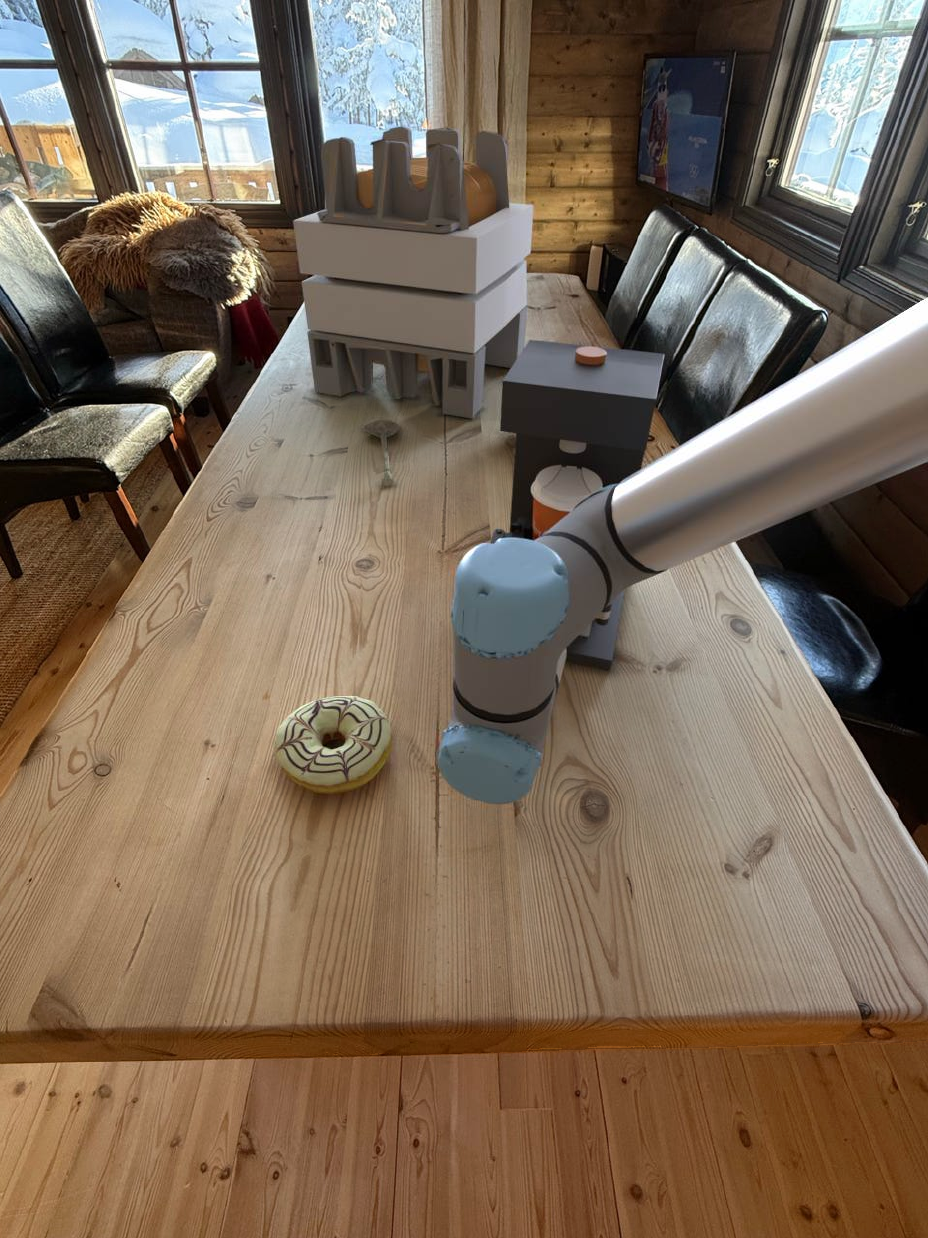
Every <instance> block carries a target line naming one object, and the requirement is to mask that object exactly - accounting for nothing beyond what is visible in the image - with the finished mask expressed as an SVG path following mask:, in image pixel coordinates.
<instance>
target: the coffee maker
mask: <svg viewBox="0 0 928 1238" xmlns="http://www.w3.org/2000/svg"><path fill="white" fill-rule="evenodd" d="M664 359H665V353H657V352H649V351H639V350H630V349H621V348H610V347H604V346H603V347H601V346H594V345H593V346H592V345H583V344H574V343H573V344H572V343H563V342H554V341H545V340H537V339H536V340H535V339H529V340H528V341H527V343H526V344H525V345H524V349H523V351H522V352H521V354H520V355H519V357H518V358H517V360H516V361H515V363H514V364H513V366H512V367H511V368H509V371H508V372H507V373H506V375H505V376H504V377H503V379H502V381H501V401H500V402H501V405H500V424H499V432H502V433H509V434H512V433H516V437H515V442H514V443H515V444H514V459H513V461H514V462H513V474H512V489H511V490H512V491H511V505H510V507H511V508H510V520H509V532H511V528H512V524H513V523H516V522H517V520H518V518H520V517H525V518H528V515H529V513H530V510H531V508H532V505H533V495H532V493H531V486H532V484H533V482H534V481H535V480H536V477H537V475H538V474H539V472H540V471H542V470H543V469H545V468H548V467H551V466H556V465H561V468H562V467H566V466H574V467H577V468H578V469H581V470H582V467H583V468H586V469H589V470H591V471H593V472H594V473H596V474H597V475H598V476H599V477H600V479H601V481H602V487H603V488H604V487H606V486H609V485H612V484H619V483H620V482H621V481H622V480H624V479H625V478H627V477H629V476H630V475H632V474H634V473H635V472H637V471H639V470H640V469H642V468H643V467H642V466H643V462H644V457H645V452H646V451H647V446H648V442H649V437H650V432H651V428H652V422H653V418H654V414H655V413H654V412H655V408H656V403H657V398H658V393H659V392H658V391H659V387H660V381H661V377H662V376H661V375H662V369H663V365H664ZM625 590H626V589H625ZM625 590H624V591H622V592H621V593H620V594H619V595H618V596H617V597H616V598H615V599H614V600H613V601H612V607H611V612H610V617H609V621H608V624H607V625H604V626H602V625H599V624H597V623H596V620H595V619H594V620H593V621H592V622H591V623H590V624H589V625H588V626H587V627H586V628H585V629H584V630H583V631H582V632H581V633H580V634H579V635H578V636H577V637H576V638H575V639H574V640H573V641H572V642H571V643H570V645H569V649H568V653H567V655H566V661H565V663H566V662H567V663H572V664H578V665H580V666H587V667H590V668H595V669H599V670H600V669H601V670H605V671H611V668H612V666H613V665H612V664H613V660H614V653H615V649H616V642H617V637H618V631H619V625H620V620H621V613H622V610H623V609H622V608H623V603H624V597H625Z"/></svg>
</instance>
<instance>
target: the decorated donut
mask: <svg viewBox="0 0 928 1238" xmlns="http://www.w3.org/2000/svg"><path fill="white" fill-rule="evenodd" d="M333 740H334V741H335V740H341V741H344V744H343V745H342V746H339V747H337V748H333V749H331V748H329V747H326V746H324V744H326V743H328V742H330V741H333ZM392 747H393V734H392V729H391V725H390V720H389V718H388V717H387V715H386V714H385V712H383V710H382V709H381V708H380V707H378V706H377V704H376V703H375V701H372V700H370V699H366V698H361V697H359V696H357V695H343V696H341V695H340V696H335V695H334V696H329V697H323V698H318V699H315V700H312V701H310V702H308V703H306V704H303V705H301V706H300V707H298V708H297V709H296V710H294V711H293V712H292V713H290V714H289V715H288V716H286V718H285V719H284V720H283V721H282V722H281V724H280V726H279V727H278V728H277V730H276V732H275V739H274V744H273V757H274V758H275V760H276V761H277V763H278V765H279V766H280V768H281V770H282V771H284V773H285V775H286V776H287V777H288V778H289V779H290V780H292V781H293V782H294V783H295V784H296V785H298V786H299V787H301V788H303V789H304V790H306V791H309V792H313V793H316V794H319V795H320V794H323V795H337V794H343V793H347V792H351V791H354V790H356V789H359V788H361V787H363V786H365V785H367V784H368V783H370V781H371V780H372V779H374V777H375V776H377V774H379V772H380V771H381V769H382V768H383V767H384V766H385V764H386V763H387V760H388V759H389V757H390V755H391V753H392Z"/></svg>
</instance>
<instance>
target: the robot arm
mask: <svg viewBox="0 0 928 1238" xmlns="http://www.w3.org/2000/svg"><path fill="white" fill-rule="evenodd" d="M925 463H928V297H927V298H925V299H923V300H922V301H920V302H918V303H917V304H915V305H913V306H912V307H909V308H908V309H907V310H905V311H903V312H901V313H899V314H898V315H896V316H895V317H893V318H891V319H890V320H888V321H886V322H884V323H883V324H882V325H880V326H878V327H877V328H875V329H873V330H871V331H869V332H868V333H866V334H864V335H863V336H861V337H860V338H858V339H857V340H854V341H853V342H851V343H849V344H848V345H846V346H845V347H843V348H841V349H840V350H838V351H837V352H835V353H833V354H831V355H830V356H828V357H826V358H824V359H823V360H822V361H820V362H818V363H816V364H814V365H813V366H811V367H810V368H808V369H806V370H804V371H803V372H801V373H800V374H797V375H796V376H795V377H792V378H791V379H789V380H787V381H786V382H784V383H783V384H781V385H779V386H778V387H776V388H775V389H773V390H771V391H769V392H768V393H766V394H764V395H763V396H760V397H759V398H758V399H756V400H754V401H753V402H751V403H749V404H747V405H746V406H744V407H742V408H741V409H739V410H738V411H736V412H734V413H733V414H730V415H728V416H727V417H726V418H724V419H722V420H721V421H718V422H717V423H715V424H714V425H712V426H711V427H709V428H707V429H706V430H704V431H702V432H701V433H699V434H697V435H696V436H694V437H693V438H692V437H691V439H689V440H687V441H686V442H684V443H682V444H681V445H679V446H678V447H675V448H674V449H673V450H670V451H669V452H667V453H666V454H664V455H662V456H661V457H659V458H657V459H655V460H654V461H652V462H650V463H648V464H647V465H646V466H644V467H641V469H640V470H639V471H637V472H635V473H634V474H632V475H630V476H629V477H627V478H625V479H624V480H622V481H621V482H620V483H619V484H612V485H609V486H606V487H604V488H602V489H601V490H598V491H596V492H594V493H593V494H591V495H589V496H588V497H587V498H585V499H584V500H582V501H581V502H580V503H578V504H577V505H576V506H575V507H574V509H573V510H572V511H571V512H570V513H569V514H568V515H566V516H565V517H564V518H563V519H561V520H560V521H559V522H558V523H557V524H555V525H554V526H553V527H552V528H550V529H549V530H548V531H547V532H546V533H544V534H543V535H542V536H540V537H538V538H537V539H535V540H534V541H532V528H533V505H532V508H531V510H530V513H529V515H528V518H525V517H520V518H518V520H517V522H516V523H513V524H512V528H511V532H510V531H509V532H505V530H504V529H502V528H496V529H494V530H493V531H492V536H491V539H490V542H482V543H479V544H478V545H476V546H474V547H473V548H471V549H470V550H469V551H468V552H467V553H465V555H464V556H463V558H461V560H460V562H459V563H458V566H457V568H456V572H455V578H454V579H455V580H454V594H453V595H454V596H453V600H452V602H451V603H452V605H451V611H450V619H451V625H452V639H453V640H452V642H453V643H452V647H453V648H452V649H453V650H452V651H453V652H452V653H453V657H452V658H453V662H452V663H453V679H452V710H451V711H452V712H451V717H450V721H449V723H448V725H447V727H446V728H445V729H444V730H443V732H442V741H441V744H440V748H439V751H438V755H437V767H438V769H439V772H440V774H441V776H442V778H443V779H444V781H445V782H446V783H447V784H448V785H449V786H450V787H451V788H452V789H453V790H455V791H456V792H458V793H459V794H460V795H462V796H463V797H466V798H468V799H471V800H473V801H476V802H477V801H478V802H482V803H486V804H487V805H508V804H514V803H516V802H518V801H521V800H522V799H523V798H525V797H526V796H527V795H528V794H529V792H531V790H532V788H533V786H534V782H535V779H536V776H537V773H538V770H539V768H540V767H541V766H542V764H543V763H542V762H543V761H542V760H543V759H542V758H543V752H544V748H545V744H546V739H547V735H548V732H549V727H550V724H551V719H552V715H553V710H554V706H555V701H556V700H555V699H556V697H557V694H558V690H559V687H560V684H561V679H562V676H563V672H564V668H565V665H566V655H567V653H568V649H569V645H570V643H571V642H572V641H573V640H574V639H575V638H576V637H577V636H578V635H579V634H580V633H581V632H582V631H583V630H584V629H585V628H586V627H587V626H588V625H589V624H590V623H591V622H592V621H593V620H594V619H595V620H596V623H597V624H599V625H602V626H604V625H607V624H608V621H609V617H610V612H611V607H612V601H613V600H614V599H615V598H616V597H617V596H618V595H619V594H620V593H621V592H622V591H624V590H626V589H628V588H629V587H631V586H634V585H636V584H638V583H641V582H643V581H645V580H648V579H649V578H652V577H655V576H658V575H659V574H661V573H664V572H666V571H668V570H670V569H672V568H674V567H677V566H680V565H683V564H685V563H687V562H689V561H692V560H694V559H697V558H699V557H701V556H704V555H706V554H708V553H711V552H713V551H716V550H718V549H721V548H723V547H726V546H728V545H730V544H733V543H735V542H738V541H740V540H742V539H744V538H747V537H750V536H752V535H755V534H757V533H759V532H762V531H764V530H767V529H769V528H771V527H774V526H777V525H778V524H782V523H783V522H786V521H789V520H791V519H793V518H795V517H797V516H801V515H803V514H805V513H807V512H810V511H812V510H815V509H817V508H819V507H822V506H824V505H827V504H829V503H832V502H834V501H836V500H839V499H841V498H843V497H846V496H848V495H850V494H853V493H856V492H859V491H861V490H863V489H865V488H867V487H870V486H872V485H875V484H878V483H880V482H882V481H885V480H886V479H889V478H893V477H894V476H897V475H899V474H901V473H904V472H906V471H909V470H911V469H913V468H917V467H918V466H920V465H923V464H925Z"/></svg>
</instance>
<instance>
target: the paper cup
mask: <svg viewBox="0 0 928 1238" xmlns="http://www.w3.org/2000/svg"><path fill="white" fill-rule="evenodd" d="M602 488H603V487H602V481H601V479H600V477H599V476H598V475H597V474H596V473H594V472H593V471H591V470H589V469H586V468H583V467H582V470H581V469H578V468H577V467H574V466H566V467H562V468H561V465H556V466H551V467H548V468H545V469H543V470H542V471H540V472H539V474H538V475H537V477H536V480H535V481H534V482H533V484H532V486H531V493H532V495H533V528H532V541H534V540H535V539H537V538H538V537H540V536H542V535H543V534H544V533H546V532H547V531H548V530H549V529H550V528H552V527H553V526H554V525H555V524H557V523H558V522H559V521H560V520H561V519H563V518H564V517H565V516H566V515H568V514H569V513H570V512H571V511H572V510H573V509H574V507H575V506H576V505H577V504H578V503H580V502H581V501H582V500H584V499H585V498H587V497H588V496H589V495H591V494H593V493H594V492H596V491H598V490H601V489H602Z"/></svg>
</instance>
